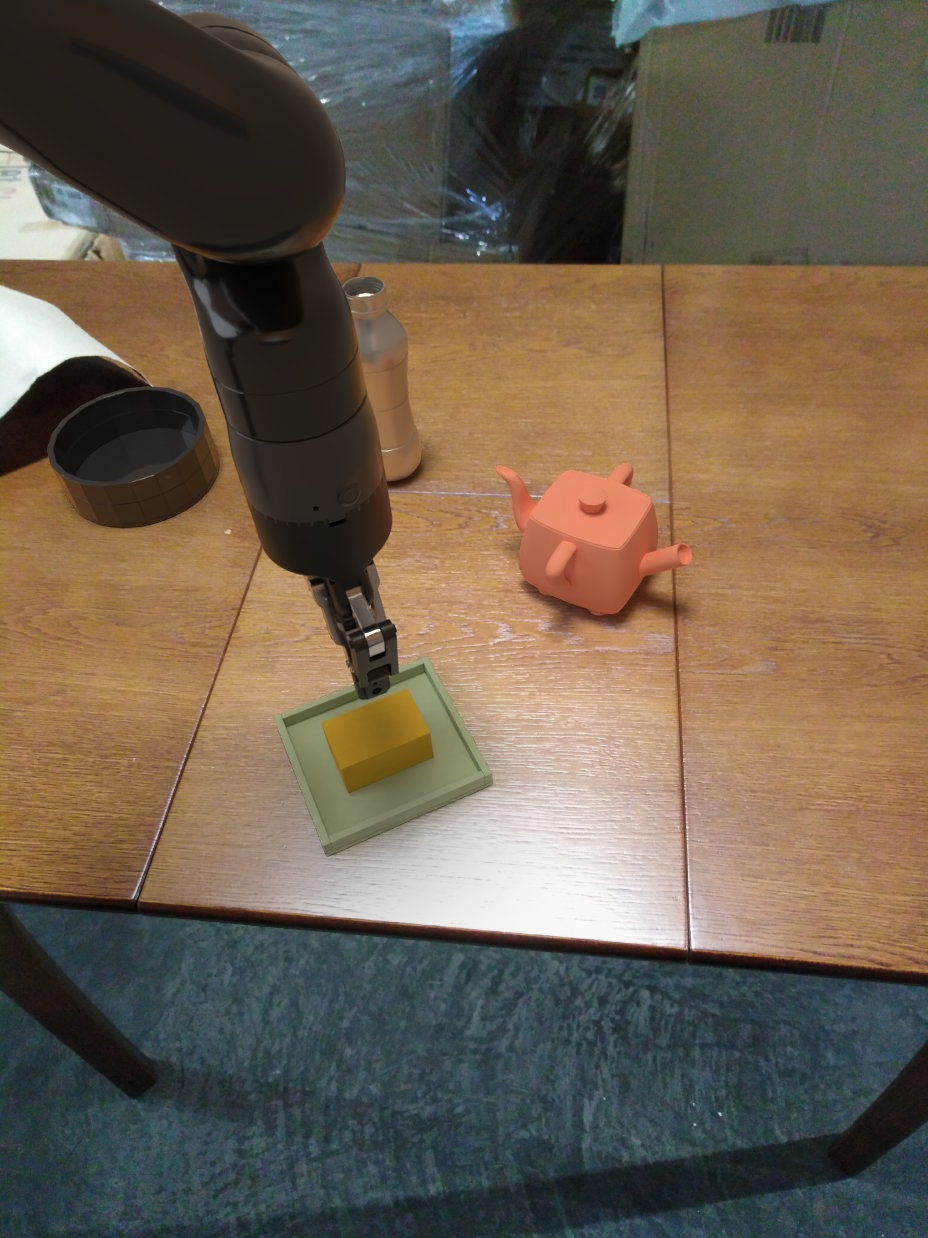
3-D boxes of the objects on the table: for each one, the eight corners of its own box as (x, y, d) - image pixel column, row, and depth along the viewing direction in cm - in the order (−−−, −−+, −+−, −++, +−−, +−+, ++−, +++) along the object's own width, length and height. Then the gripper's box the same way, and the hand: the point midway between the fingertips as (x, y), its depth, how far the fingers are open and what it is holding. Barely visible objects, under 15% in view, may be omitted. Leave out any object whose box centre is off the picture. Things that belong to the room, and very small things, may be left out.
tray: (326, 857, 64) (322, 846, 63) (277, 727, 71) (273, 716, 70) (492, 784, 67) (492, 773, 66) (429, 667, 74) (427, 655, 73)
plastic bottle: (417, 492, 88) (395, 309, 73) (351, 487, 89) (315, 305, 74) (429, 449, 92) (410, 267, 77) (365, 445, 93) (334, 265, 78)
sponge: (348, 793, 67) (340, 769, 64) (328, 747, 69) (320, 722, 67) (434, 757, 68) (430, 732, 66) (411, 713, 71) (407, 687, 68)
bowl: (82, 547, 86) (59, 505, 82) (59, 455, 95) (38, 413, 91) (235, 496, 89) (221, 453, 85) (199, 413, 98) (184, 370, 94)
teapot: (647, 521, 84) (659, 435, 76) (684, 617, 76) (702, 532, 68) (497, 542, 83) (493, 458, 75) (520, 641, 76) (518, 559, 68)
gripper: (209, 415, 51) (275, 609, 64) (284, 583, 42) (342, 767, 55) (334, 376, 52) (373, 573, 65) (431, 530, 44) (453, 721, 57)
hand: (359, 661), depth 60 cm, fingers open, 5 cm apart
